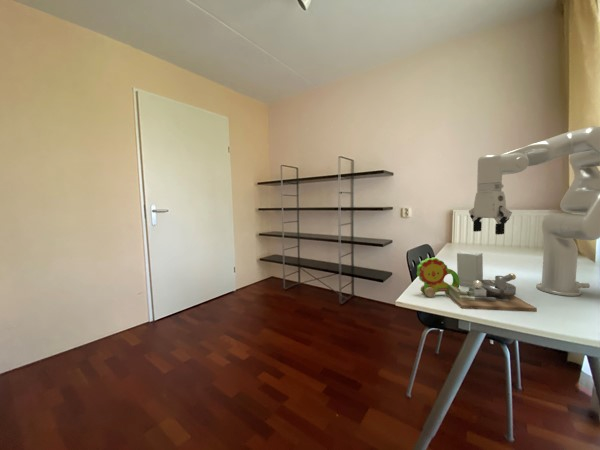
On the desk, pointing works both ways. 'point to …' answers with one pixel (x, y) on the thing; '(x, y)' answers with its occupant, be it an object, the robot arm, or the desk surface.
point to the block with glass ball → (477, 289)
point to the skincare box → (469, 267)
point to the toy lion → (435, 276)
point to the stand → (488, 301)
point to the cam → (500, 286)
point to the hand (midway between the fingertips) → (488, 232)
